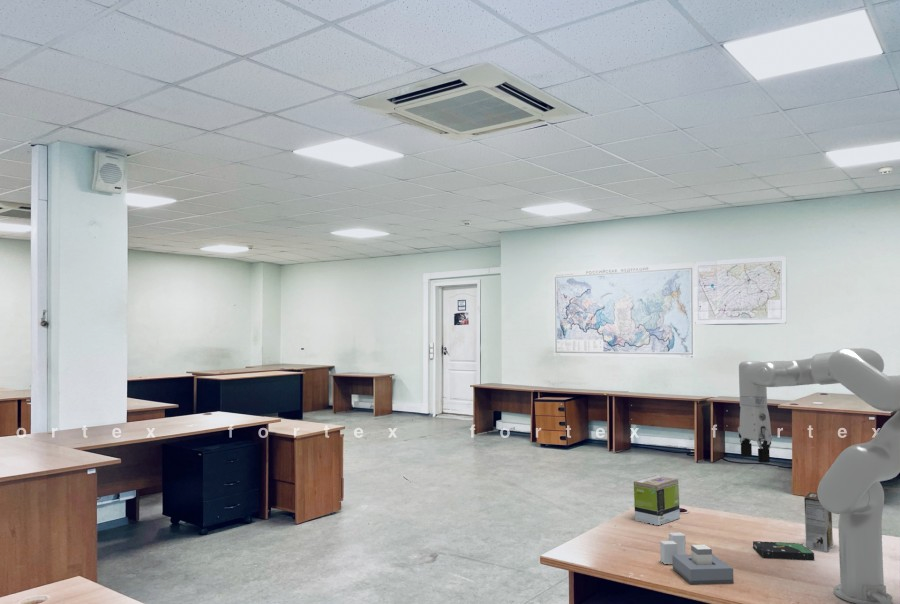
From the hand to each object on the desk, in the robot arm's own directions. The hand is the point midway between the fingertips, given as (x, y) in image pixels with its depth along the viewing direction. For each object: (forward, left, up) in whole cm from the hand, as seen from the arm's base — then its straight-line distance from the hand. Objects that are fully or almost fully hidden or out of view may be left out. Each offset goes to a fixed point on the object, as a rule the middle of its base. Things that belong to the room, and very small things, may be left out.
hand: (755, 459), depth 196 cm
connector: (-10, +22, -29) cm, 38 cm away
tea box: (+47, +12, -31) cm, 57 cm away
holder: (-10, +22, -30) cm, 39 cm away
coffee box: (+12, -27, -31) cm, 43 cm away
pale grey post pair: (+5, +24, -30) cm, 39 cm away
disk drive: (+7, -12, -31) cm, 34 cm away
